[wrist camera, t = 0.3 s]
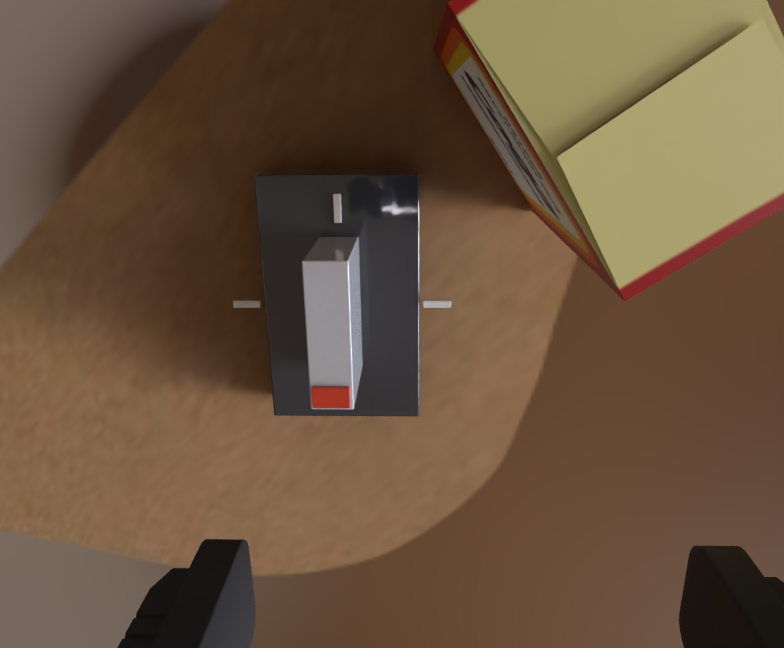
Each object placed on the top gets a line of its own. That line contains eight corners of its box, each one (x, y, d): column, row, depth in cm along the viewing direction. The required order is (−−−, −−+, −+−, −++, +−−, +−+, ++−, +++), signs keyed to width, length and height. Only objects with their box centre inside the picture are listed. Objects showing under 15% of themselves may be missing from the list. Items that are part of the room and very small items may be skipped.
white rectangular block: (318, 236, 31) (300, 262, 27) (358, 236, 31) (347, 262, 26) (325, 366, 34) (309, 412, 29) (362, 366, 34) (353, 412, 29)
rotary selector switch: (234, 170, 33) (220, 176, 31) (450, 168, 33) (453, 173, 30) (255, 395, 37) (244, 417, 35) (446, 396, 37) (448, 418, 34)
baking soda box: (433, 49, 31) (448, 1, 16) (551, -38, 29) (693, -184, 14) (532, 211, 33) (629, 305, 18) (646, 138, 32) (853, 174, 17)
